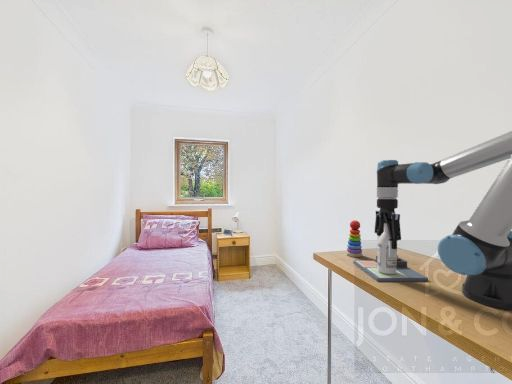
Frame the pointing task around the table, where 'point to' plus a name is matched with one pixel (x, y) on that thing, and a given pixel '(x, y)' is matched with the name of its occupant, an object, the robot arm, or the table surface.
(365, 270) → the picture board
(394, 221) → the robot arm
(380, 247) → the bath foam
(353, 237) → the stacking toy
